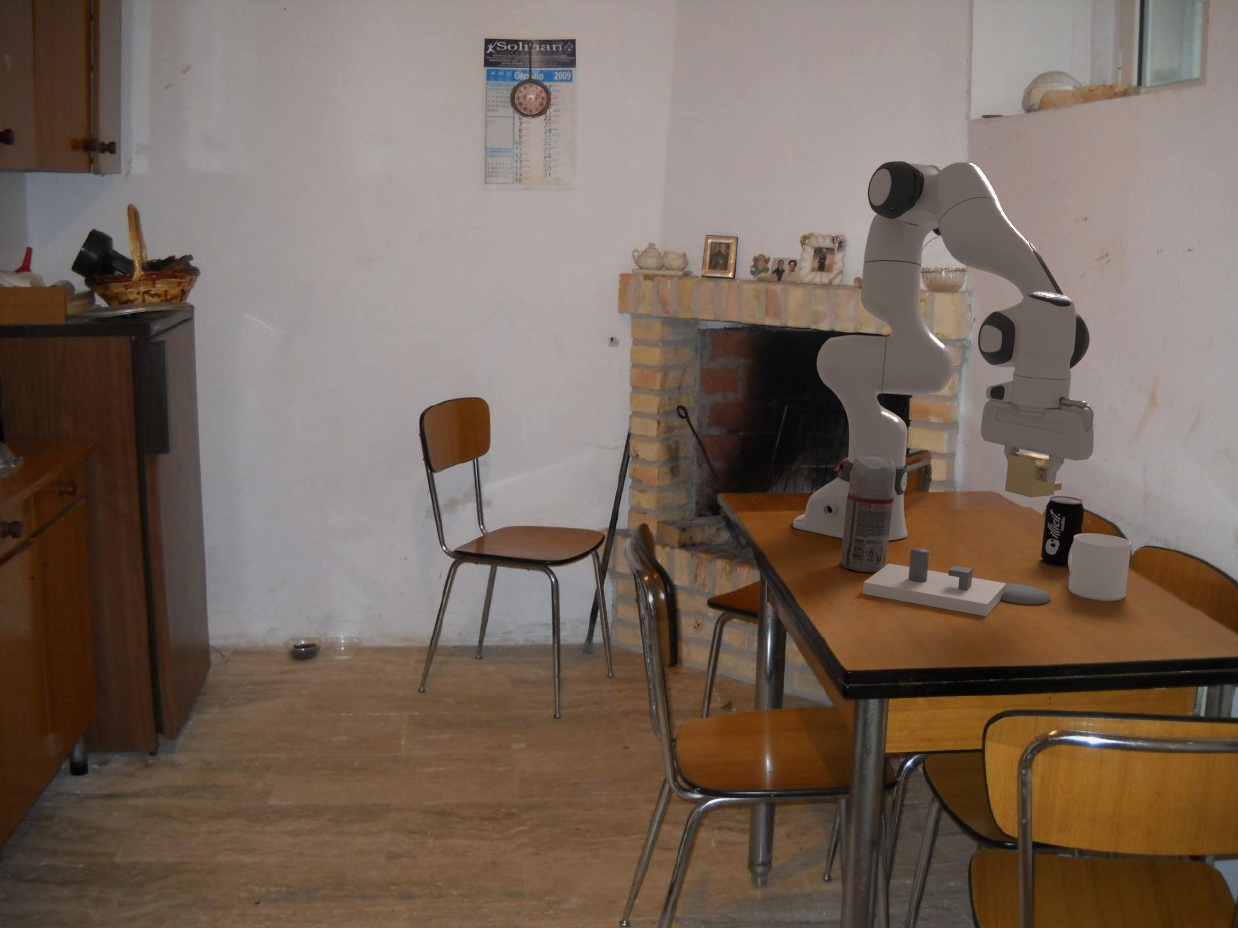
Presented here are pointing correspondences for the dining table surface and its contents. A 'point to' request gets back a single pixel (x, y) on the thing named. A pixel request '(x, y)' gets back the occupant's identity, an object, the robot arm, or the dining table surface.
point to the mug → (1099, 566)
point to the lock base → (935, 586)
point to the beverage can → (1061, 528)
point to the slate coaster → (1025, 595)
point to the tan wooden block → (1029, 475)
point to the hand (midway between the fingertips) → (1031, 477)
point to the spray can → (868, 513)
